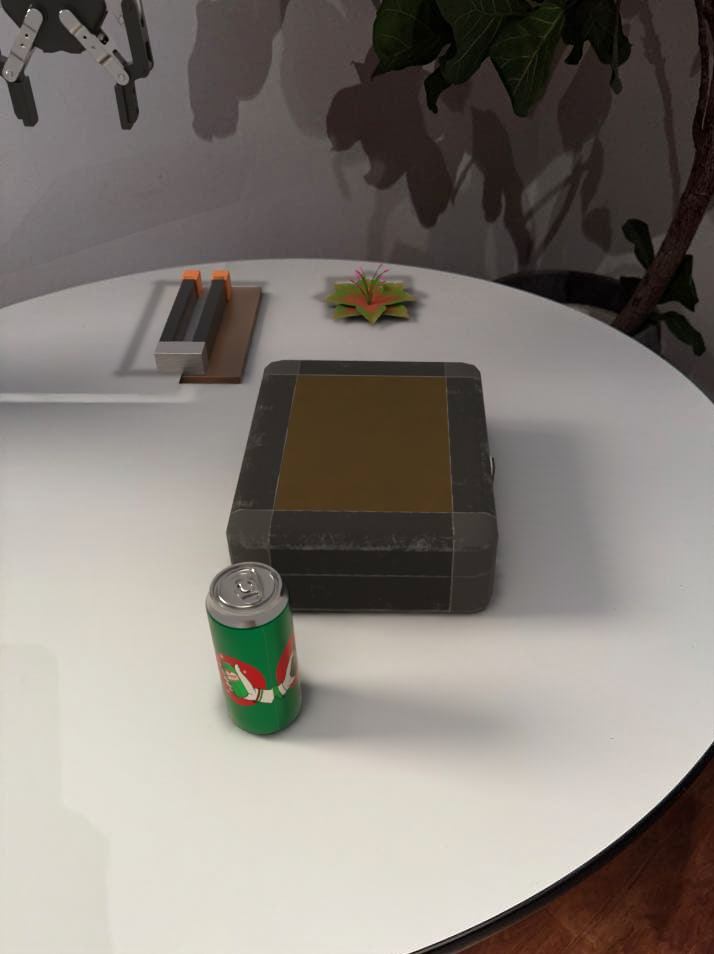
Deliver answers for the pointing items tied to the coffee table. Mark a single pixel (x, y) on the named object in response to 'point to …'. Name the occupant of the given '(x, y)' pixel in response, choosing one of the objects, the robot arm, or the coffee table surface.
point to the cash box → (370, 486)
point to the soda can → (255, 646)
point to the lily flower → (369, 298)
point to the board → (231, 338)
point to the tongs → (197, 353)
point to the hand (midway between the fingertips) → (80, 125)
